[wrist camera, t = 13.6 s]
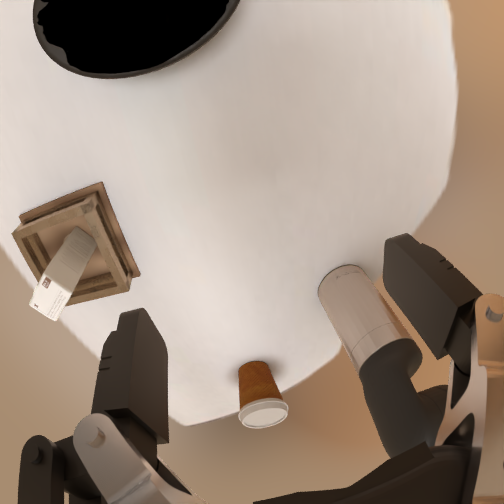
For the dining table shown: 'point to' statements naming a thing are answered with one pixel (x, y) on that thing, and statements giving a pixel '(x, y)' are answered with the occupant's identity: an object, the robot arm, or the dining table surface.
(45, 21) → the bowl of black rocks
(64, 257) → the skincare box
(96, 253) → the walnut board
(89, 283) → the shallow wooden tray
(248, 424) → the disposable coffee cup
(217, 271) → the dining table surface
